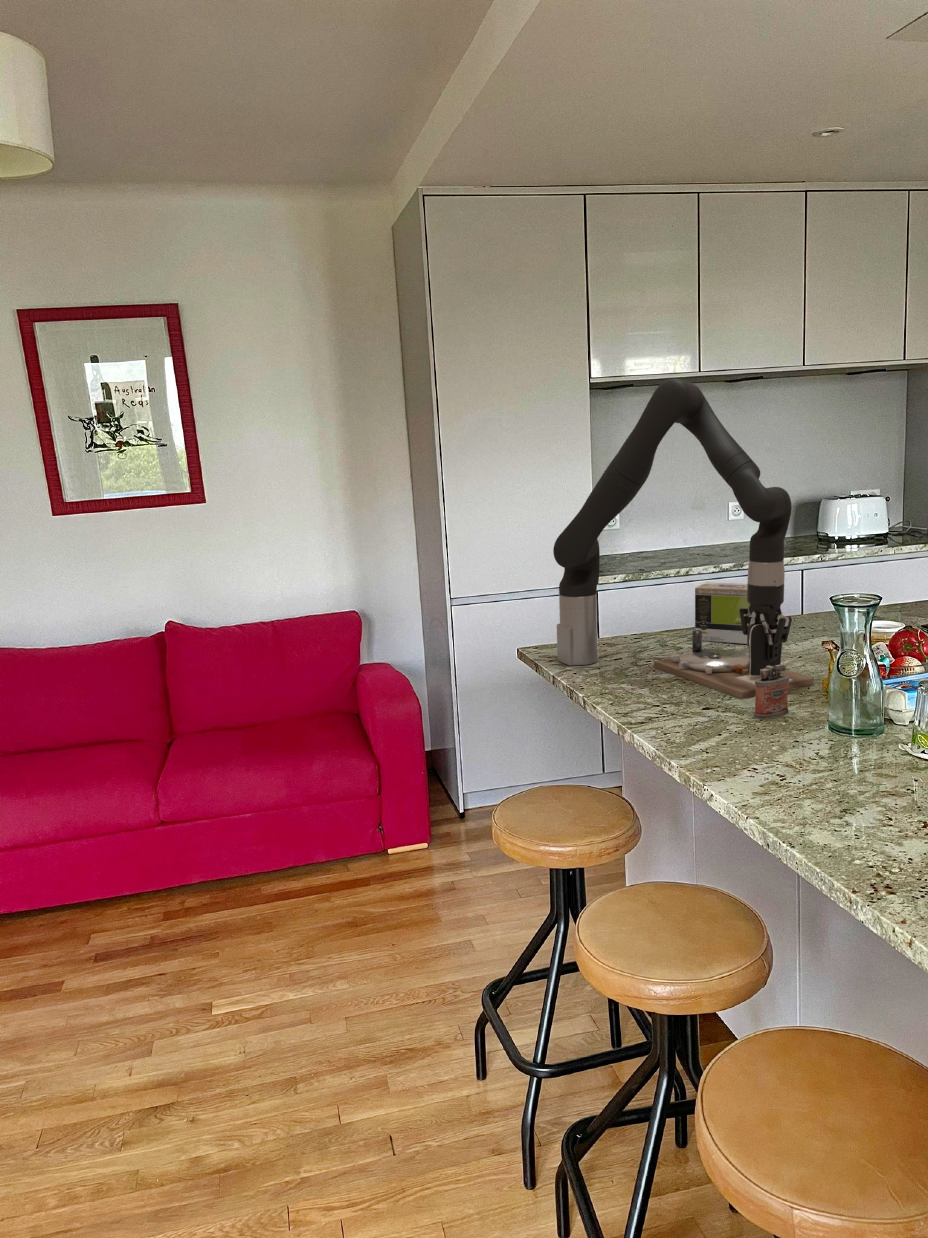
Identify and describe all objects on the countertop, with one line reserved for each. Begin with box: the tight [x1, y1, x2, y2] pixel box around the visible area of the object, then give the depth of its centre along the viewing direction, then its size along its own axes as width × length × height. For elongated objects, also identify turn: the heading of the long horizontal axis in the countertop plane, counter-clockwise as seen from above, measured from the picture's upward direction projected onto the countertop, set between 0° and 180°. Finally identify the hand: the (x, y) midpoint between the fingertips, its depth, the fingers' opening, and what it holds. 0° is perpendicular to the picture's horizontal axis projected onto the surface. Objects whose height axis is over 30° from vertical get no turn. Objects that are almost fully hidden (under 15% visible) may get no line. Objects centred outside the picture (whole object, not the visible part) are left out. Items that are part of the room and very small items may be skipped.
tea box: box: [694, 581, 750, 645], centre depth 242 cm, size 15×10×15 cm, turn 58°
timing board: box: [653, 657, 815, 700], centre depth 209 cm, size 20×31×2 cm, turn 24°
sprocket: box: [672, 629, 749, 674], centre depth 213 cm, size 19×19×6 cm
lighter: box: [753, 663, 789, 720], centre depth 179 cm, size 8×3×10 cm, turn 117°
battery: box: [746, 623, 783, 676], centre depth 197 cm, size 7×4×11 cm, turn 93°
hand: (763, 657), depth 198 cm, fingers closed on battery, 4 cm apart
